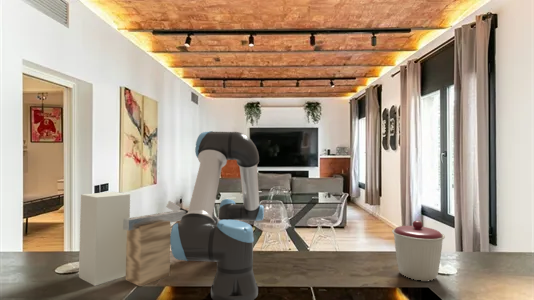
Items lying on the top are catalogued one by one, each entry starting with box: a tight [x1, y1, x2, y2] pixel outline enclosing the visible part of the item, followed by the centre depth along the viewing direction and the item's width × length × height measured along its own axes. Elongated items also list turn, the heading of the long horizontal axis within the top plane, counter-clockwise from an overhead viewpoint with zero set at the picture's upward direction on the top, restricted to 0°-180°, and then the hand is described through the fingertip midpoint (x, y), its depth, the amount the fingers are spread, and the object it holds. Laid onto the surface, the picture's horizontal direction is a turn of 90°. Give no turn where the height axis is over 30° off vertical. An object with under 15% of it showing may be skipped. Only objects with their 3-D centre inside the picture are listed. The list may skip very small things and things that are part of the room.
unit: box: [78, 191, 131, 287], centre depth 114 cm, size 12×12×30 cm
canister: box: [391, 220, 446, 282], centre depth 118 cm, size 18×18×21 cm
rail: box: [123, 210, 186, 231], centre depth 115 cm, size 4×24×4 cm, turn 144°
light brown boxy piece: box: [125, 221, 172, 287], centre depth 112 cm, size 9×12×20 cm
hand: (178, 205), depth 124 cm, fingers open, 13 cm apart
